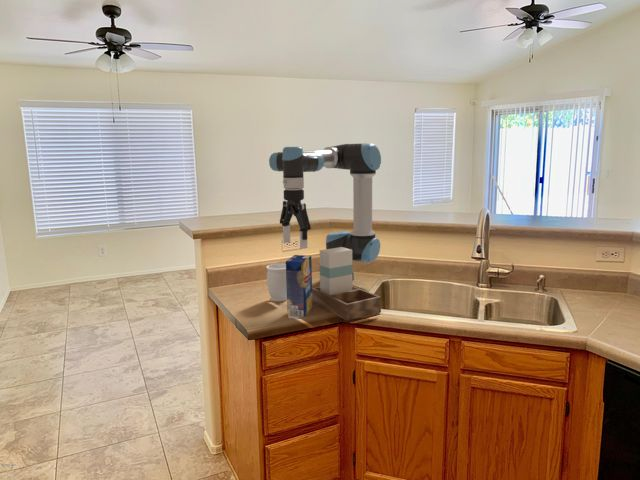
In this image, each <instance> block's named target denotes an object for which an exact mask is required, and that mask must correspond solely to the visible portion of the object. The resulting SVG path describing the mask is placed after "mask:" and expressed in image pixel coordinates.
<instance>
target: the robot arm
mask: <svg viewBox="0 0 640 480" xmlns="http://www.w3.org/2000/svg"><path fill="white" fill-rule="evenodd" d="M268 163H269V167H270V169H271V170H272V171H274V172H282V174H283V176H282V177H283V179H282V183H283V189H284V190H283V201H282V209H281V213H280V219H279V224H281V226H282V241H283V244H287V243H291V220H292V218H293V216H294V217H295V218H296V222H297V223H298V226H299V249H301V250H303V249H308V231H310V230H312V227H311V223H310V219H309V214H308V211H307V204H306V203H302V201H303V200H304V199H305V191H304V188H305V187H304V186H305V185H304V183H305V182H304V173H311V172H312V173H313V172H314V173H315V172H319V171H321V170H322V169H323V168H326V169H337V170H338V169H339V170H347V171H348V170H349V174H350V175H351V176H352V178H353V181H352V182H353V187H352V188H353V189H352V192H353V195H352V196H353V199H352V200H353V203H352V204H353V209H352V210H353V215H352V216H353V219H352V220H353V230H352V231H351V232H350V231H347V230H346V231H345V230H344V231H336V232H331V233H328V234H327V235H326V239H325V249H332V248H339V247H344V248H348V249H351V250H352V261H354V262H361V263H373V262H374V261H375V260H376V259H377V258H378V256H379V254H380V250H381V241H380V239H379V238H377V237H376V232H375V231H374V230H373V177H374V176H376V171H377V170H379V169H380V167H381V163H382V155H381V151H380V150H379V148H378V147H377V145H375V144H374V143H368V142H367V143H366V142H364V143H343V144H338V145H334V146H333V145H332V146H326V147H324V148H323V149H313V150H304V149H303V147H302V146H283V148H282V151H277V152H273V153H271V155H270V156H269V158H268ZM354 279H355V273H354V272H353V274H352V281H353V280H354Z"/></svg>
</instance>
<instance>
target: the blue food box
mask: <svg viewBox="0 0 640 480" xmlns="http://www.w3.org/2000/svg"><path fill="white" fill-rule="evenodd" d="M285 264H286V285H287V300H286V306H287V307H286V309H287V310H286V311H287V315H286V316H287V319H301V320H303V317H306V315H308V313H309V312H310V311H311V310H312V308H313V303H312V288H313V278H312V277H313V276H312V275H313V271H312V268H313V267H312V265H313V264H312V255H305V254H301V255H299V254H294V255H292V256H291V257H289V258H288V259H287V260H286V261H285Z"/></svg>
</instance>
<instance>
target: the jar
mask: <svg viewBox="0 0 640 480" xmlns="http://www.w3.org/2000/svg"><path fill="white" fill-rule="evenodd" d="M266 270H267V273H266V284H267V290H268V294H269V296H270V297H269V298H270V302H271V303H273V304H275V302H285V301H287V285H286V263H282V262H281V263H280V262H279V263H271V264H268V265H266Z"/></svg>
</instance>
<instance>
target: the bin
mask: <svg viewBox="0 0 640 480" xmlns="http://www.w3.org/2000/svg"><path fill="white" fill-rule="evenodd" d="M313 304H314V305H315V306H318V307H319V308H321V309H323V310H325V311H327V312H329V313H331V314H333V315H335V316H337V317H338V318H341V319H343V320H345V321H348V322H346V324H349V323H352V322H357V321H360V320H364V319H367V318H368V319H369V318H372V317H376V316H380V315H381V312H382V296H379V294H378V295H377V294H376V293H373V292H369V291H367V290H366V289H362V288H359V287H357V286H355V285H352V291H347V292H342V293H338V294H333V295H328V294H325V293H323V292H321V291H320V286H316V287H315V286H314V287H312V305H313ZM374 314H375V315H374ZM370 315H371V316H370ZM366 316H367V317H366ZM362 317H363V318H362Z"/></svg>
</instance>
